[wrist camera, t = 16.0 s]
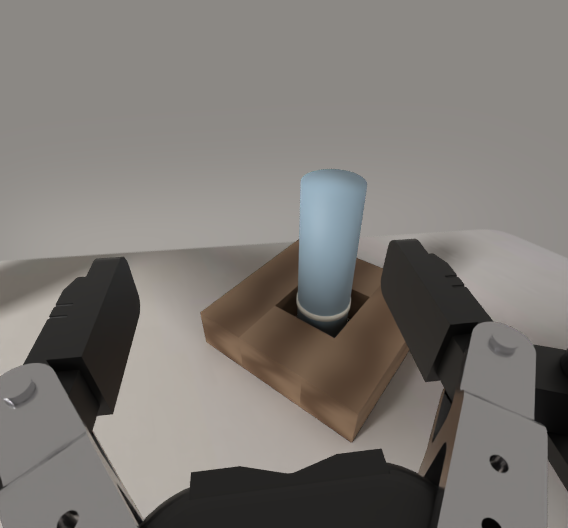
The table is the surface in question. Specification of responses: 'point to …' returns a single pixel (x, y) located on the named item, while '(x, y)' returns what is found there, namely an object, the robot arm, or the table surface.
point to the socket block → (310, 342)
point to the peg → (328, 246)
